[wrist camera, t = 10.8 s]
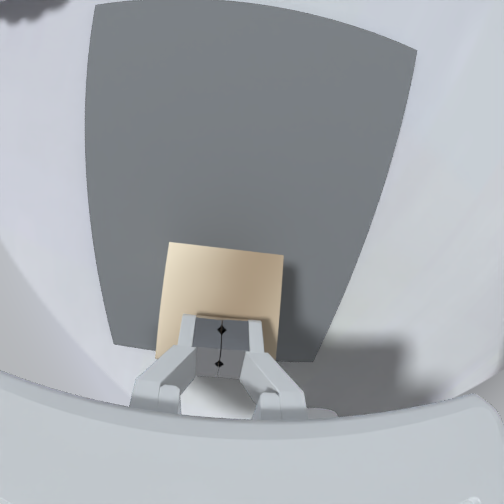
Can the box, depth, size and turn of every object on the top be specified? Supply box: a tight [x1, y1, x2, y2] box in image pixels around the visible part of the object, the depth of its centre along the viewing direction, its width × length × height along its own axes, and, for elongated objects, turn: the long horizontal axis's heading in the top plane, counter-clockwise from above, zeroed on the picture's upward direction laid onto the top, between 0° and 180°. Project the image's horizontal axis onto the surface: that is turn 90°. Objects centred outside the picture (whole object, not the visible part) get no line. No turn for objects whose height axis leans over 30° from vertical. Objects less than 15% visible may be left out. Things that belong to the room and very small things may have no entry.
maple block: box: [155, 242, 284, 361], centre depth 15 cm, size 5×5×5 cm
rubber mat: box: [85, 0, 417, 362], centre depth 17 cm, size 16×23×1 cm
